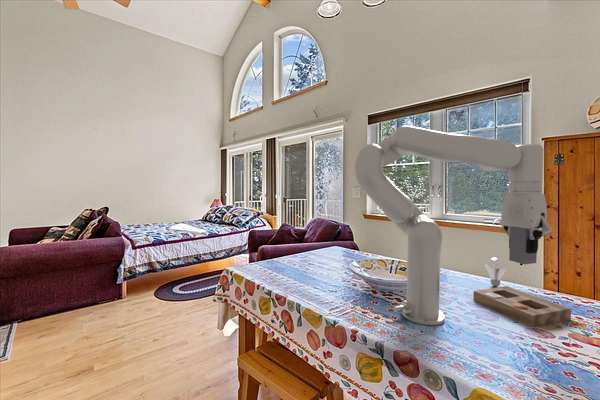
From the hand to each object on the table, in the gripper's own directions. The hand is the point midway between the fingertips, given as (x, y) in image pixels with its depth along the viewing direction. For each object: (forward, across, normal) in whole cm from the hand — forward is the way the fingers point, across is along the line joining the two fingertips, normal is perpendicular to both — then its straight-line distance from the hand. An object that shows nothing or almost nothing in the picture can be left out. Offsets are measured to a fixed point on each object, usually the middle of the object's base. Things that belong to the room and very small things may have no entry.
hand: (522, 250), depth 81 cm
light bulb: (+23, -27, +22) cm, 42 cm away
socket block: (+23, -9, +11) cm, 27 cm away
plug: (+3, 0, 0) cm, 3 cm away
